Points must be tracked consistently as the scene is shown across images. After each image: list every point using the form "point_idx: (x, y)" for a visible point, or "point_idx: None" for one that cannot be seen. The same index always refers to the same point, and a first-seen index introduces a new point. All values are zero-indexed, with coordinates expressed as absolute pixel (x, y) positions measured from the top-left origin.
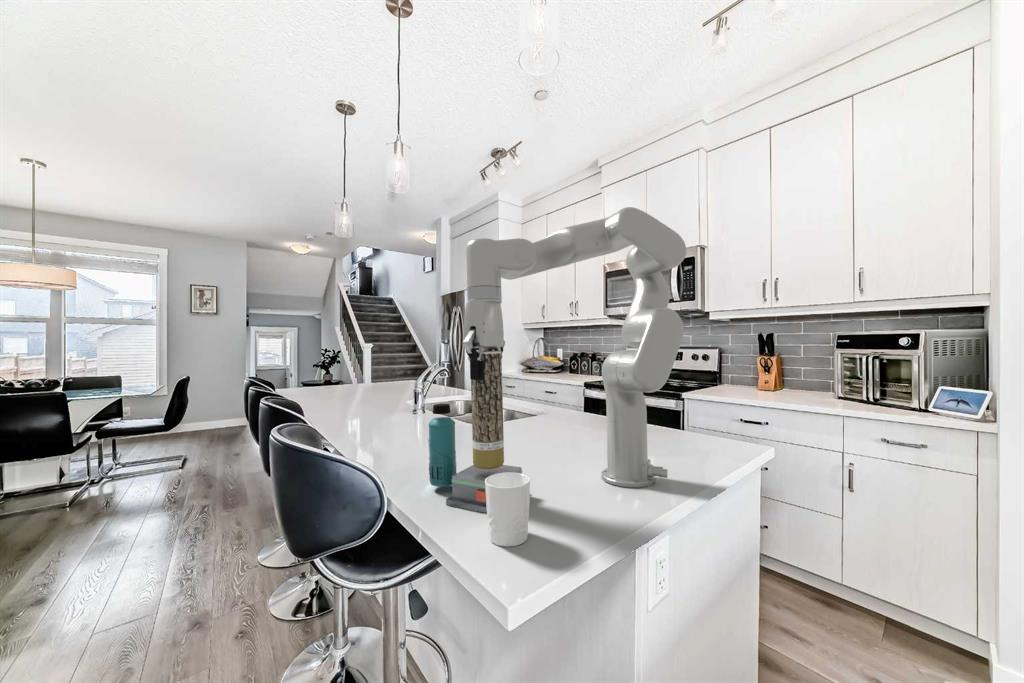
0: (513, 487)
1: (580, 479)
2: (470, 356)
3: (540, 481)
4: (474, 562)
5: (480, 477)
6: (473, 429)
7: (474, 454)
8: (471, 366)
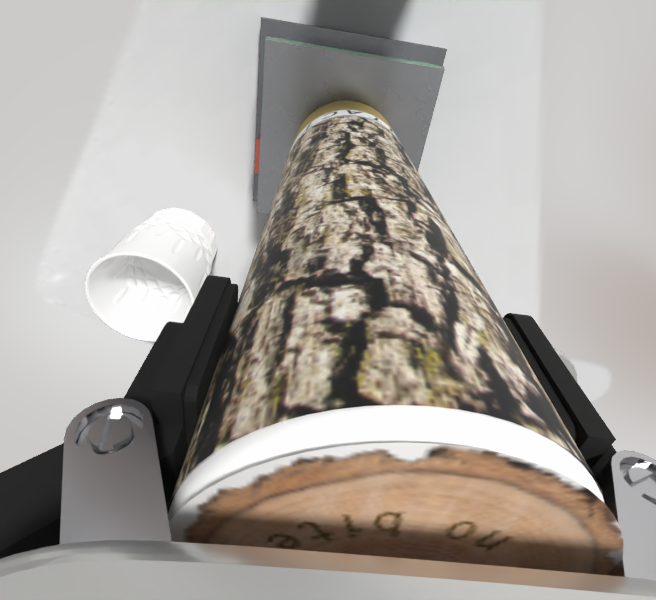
0: (106, 324)
1: (511, 305)
2: (30, 479)
3: (491, 222)
4: (77, 216)
5: (282, 147)
6: (295, 151)
7: (300, 130)
8: (140, 371)
